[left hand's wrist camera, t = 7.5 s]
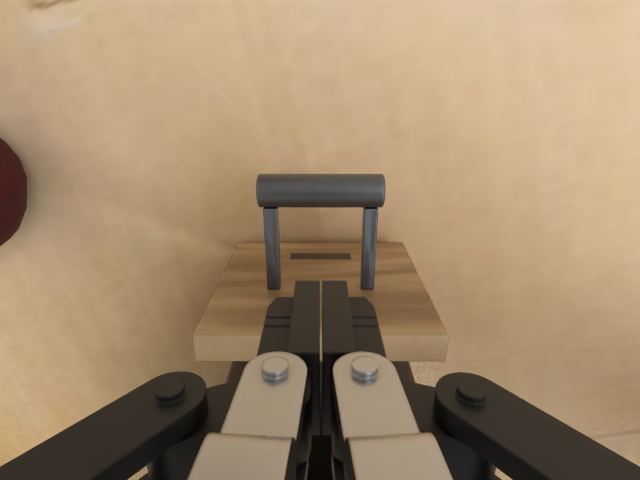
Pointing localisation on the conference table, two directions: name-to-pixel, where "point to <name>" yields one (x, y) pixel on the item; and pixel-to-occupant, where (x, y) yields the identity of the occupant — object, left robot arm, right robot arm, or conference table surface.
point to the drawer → (316, 265)
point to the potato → (11, 192)
